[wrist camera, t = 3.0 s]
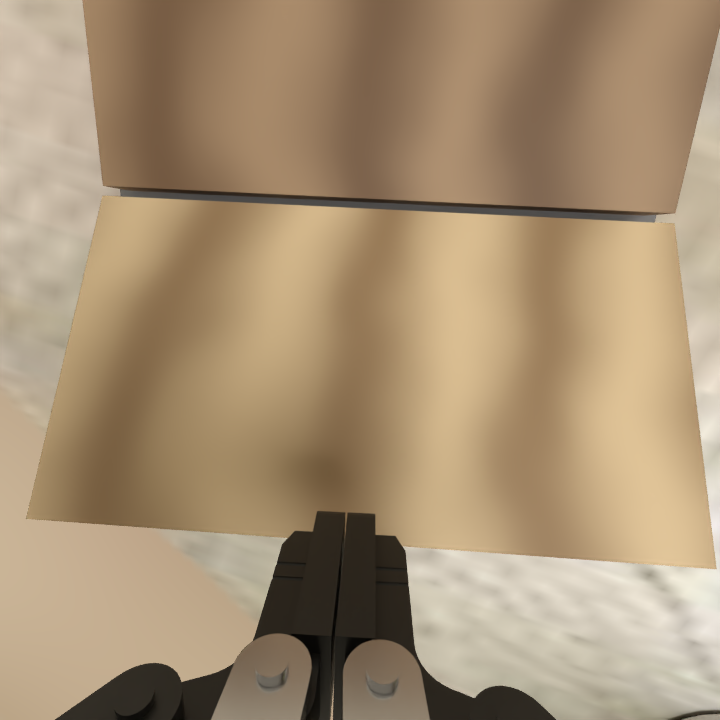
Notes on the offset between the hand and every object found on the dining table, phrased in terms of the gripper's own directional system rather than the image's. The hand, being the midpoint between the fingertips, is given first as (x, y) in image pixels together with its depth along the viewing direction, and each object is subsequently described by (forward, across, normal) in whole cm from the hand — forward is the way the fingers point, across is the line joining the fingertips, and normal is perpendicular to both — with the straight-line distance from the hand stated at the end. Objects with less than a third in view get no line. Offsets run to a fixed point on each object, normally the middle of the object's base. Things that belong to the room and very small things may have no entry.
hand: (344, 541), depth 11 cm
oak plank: (+7, -1, -2) cm, 7 cm away
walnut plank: (+11, -1, -15) cm, 19 cm away
